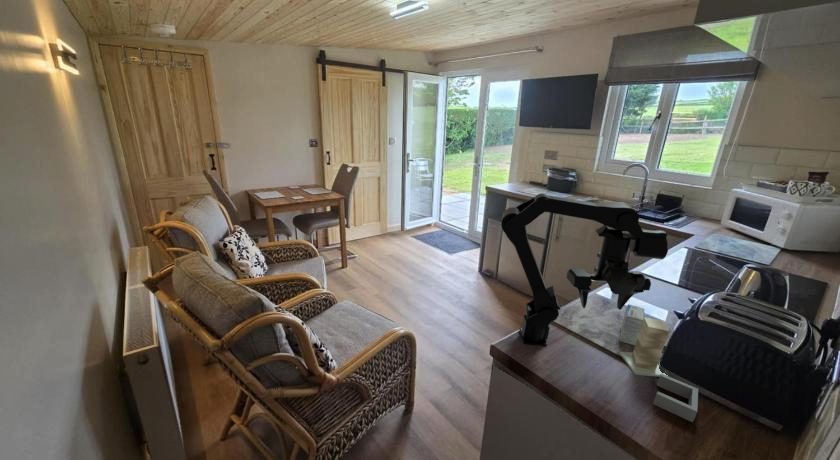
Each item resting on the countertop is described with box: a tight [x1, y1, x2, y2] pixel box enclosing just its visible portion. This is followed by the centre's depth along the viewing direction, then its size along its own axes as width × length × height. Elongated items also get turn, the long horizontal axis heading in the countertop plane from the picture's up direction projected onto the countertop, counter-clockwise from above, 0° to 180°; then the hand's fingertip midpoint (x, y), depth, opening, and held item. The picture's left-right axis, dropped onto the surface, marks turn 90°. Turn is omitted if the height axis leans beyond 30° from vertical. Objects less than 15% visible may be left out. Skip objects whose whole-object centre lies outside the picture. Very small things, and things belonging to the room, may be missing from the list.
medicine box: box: [619, 303, 645, 347], centre depth 99 cm, size 8×4×9 cm, turn 148°
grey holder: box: [653, 374, 699, 423], centre depth 77 cm, size 7×8×3 cm
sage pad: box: [619, 351, 669, 377], centre depth 89 cm, size 8×8×1 cm
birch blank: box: [632, 316, 670, 371], centre depth 87 cm, size 4×4×12 cm
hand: (601, 308), depth 90 cm, fingers open, 9 cm apart
